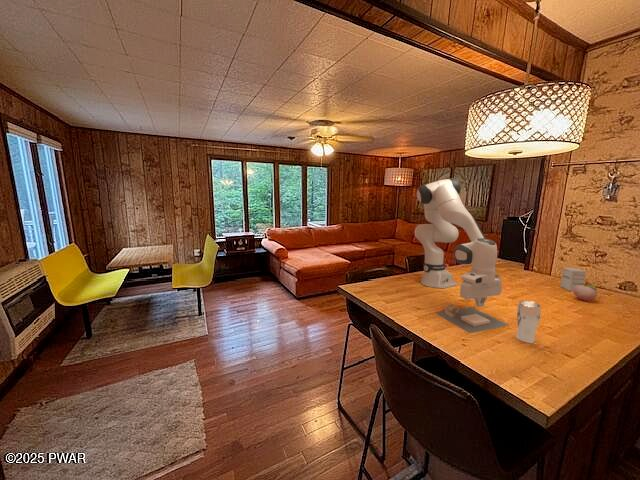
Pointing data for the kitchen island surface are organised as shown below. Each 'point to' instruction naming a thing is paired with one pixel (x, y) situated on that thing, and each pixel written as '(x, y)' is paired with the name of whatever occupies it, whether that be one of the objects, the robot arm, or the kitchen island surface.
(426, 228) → the robot arm
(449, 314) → the beech cube
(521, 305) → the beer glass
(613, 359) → the kitchen island surface
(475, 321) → the tile
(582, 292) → the decorative fruit
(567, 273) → the supplement box
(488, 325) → the mat
